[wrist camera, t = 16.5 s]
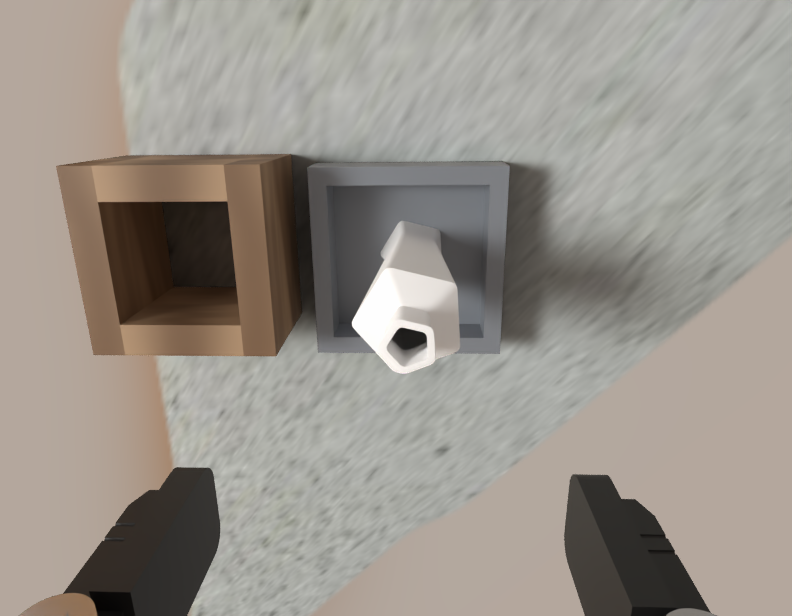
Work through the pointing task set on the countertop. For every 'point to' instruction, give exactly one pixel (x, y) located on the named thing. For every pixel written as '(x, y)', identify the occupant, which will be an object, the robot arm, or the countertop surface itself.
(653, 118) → the countertop surface
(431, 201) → the tray
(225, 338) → the wooden cubby box
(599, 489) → the robot arm
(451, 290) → the perfume bottle
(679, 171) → the countertop surface
